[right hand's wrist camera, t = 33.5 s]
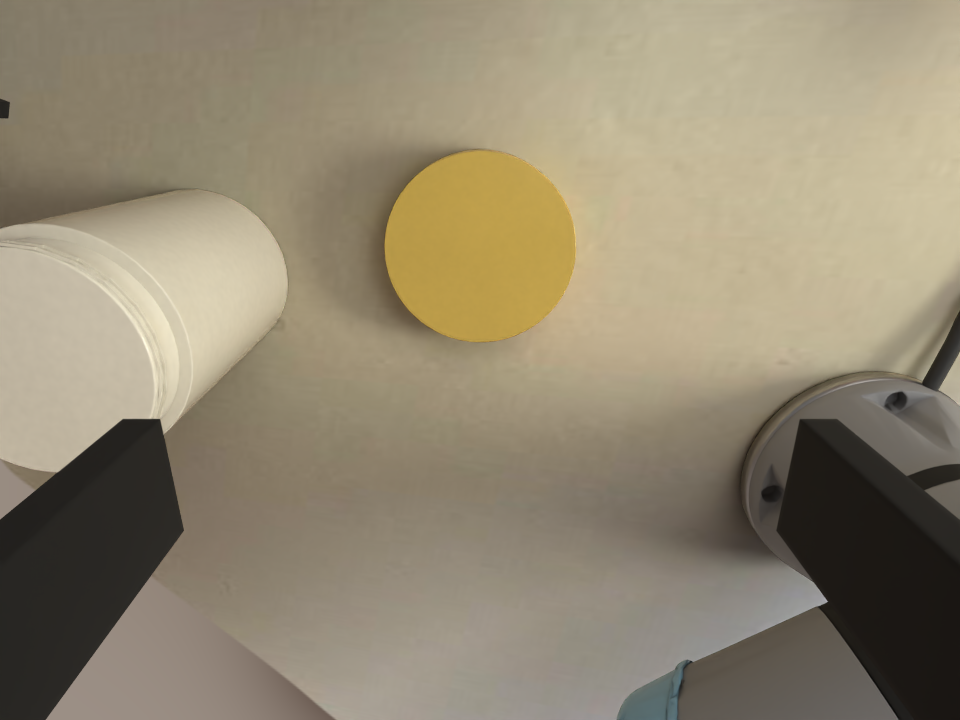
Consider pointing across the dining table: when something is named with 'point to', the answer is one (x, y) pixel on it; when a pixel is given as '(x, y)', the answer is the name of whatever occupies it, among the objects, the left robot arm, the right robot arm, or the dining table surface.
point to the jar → (126, 316)
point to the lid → (480, 246)
